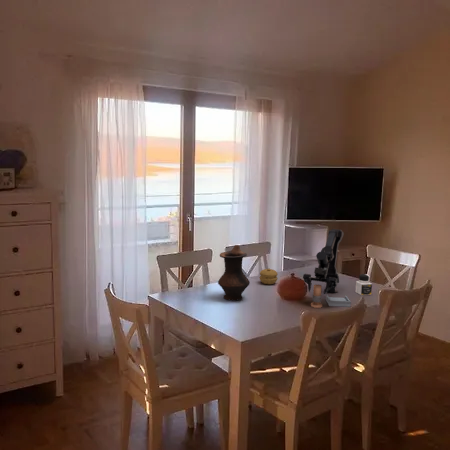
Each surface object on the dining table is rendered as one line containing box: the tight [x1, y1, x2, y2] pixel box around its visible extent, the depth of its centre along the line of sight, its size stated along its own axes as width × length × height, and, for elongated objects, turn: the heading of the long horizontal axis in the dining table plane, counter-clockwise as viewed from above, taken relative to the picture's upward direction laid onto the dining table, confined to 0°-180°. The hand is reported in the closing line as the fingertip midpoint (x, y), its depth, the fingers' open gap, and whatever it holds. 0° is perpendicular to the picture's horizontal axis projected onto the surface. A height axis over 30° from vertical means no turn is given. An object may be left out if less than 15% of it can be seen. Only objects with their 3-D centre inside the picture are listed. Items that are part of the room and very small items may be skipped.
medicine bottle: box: [355, 273, 373, 296], centre depth 309 cm, size 7×7×12 cm
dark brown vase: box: [217, 244, 251, 301], centre depth 291 cm, size 21×18×30 cm
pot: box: [258, 268, 279, 285], centre depth 326 cm, size 12×12×10 cm
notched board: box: [325, 294, 352, 308], centre depth 288 cm, size 12×12×3 cm
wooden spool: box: [310, 283, 323, 309], centre depth 281 cm, size 6×6×12 cm
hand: (316, 292), depth 280 cm, fingers open, 8 cm apart
